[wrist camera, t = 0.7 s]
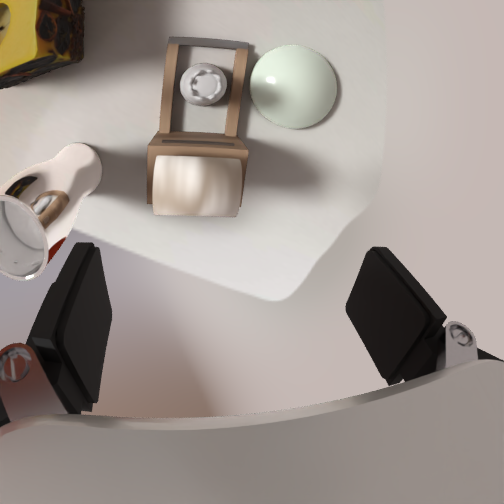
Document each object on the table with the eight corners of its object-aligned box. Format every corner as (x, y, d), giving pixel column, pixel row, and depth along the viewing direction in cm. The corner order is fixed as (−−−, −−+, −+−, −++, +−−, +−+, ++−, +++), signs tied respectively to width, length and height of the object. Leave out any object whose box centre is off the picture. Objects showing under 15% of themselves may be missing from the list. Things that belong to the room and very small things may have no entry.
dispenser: (167, 37, 21) (151, 12, 12) (250, 43, 23) (283, 24, 14) (156, 177, 29) (139, 229, 20) (231, 180, 31) (250, 231, 22)
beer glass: (107, 138, 26) (42, 191, 13) (106, 199, 29) (59, 287, 17) (49, 139, 24) (-34, 194, 12) (53, 199, 27) (-12, 279, 15)
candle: (87, -21, 15) (49, -51, 7) (86, 61, 21) (41, 57, 12) (9, 12, 14) (-43, 4, 5) (9, 89, 19) (-47, 103, 11)
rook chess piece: (234, 75, 25) (248, 73, 18) (211, 113, 27) (217, 124, 20) (193, 56, 23) (193, 46, 16) (171, 94, 25) (163, 99, 18)
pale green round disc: (256, 38, 23) (258, 37, 22) (338, 57, 25) (343, 57, 24) (243, 121, 28) (245, 122, 27) (324, 133, 30) (328, 134, 29)
